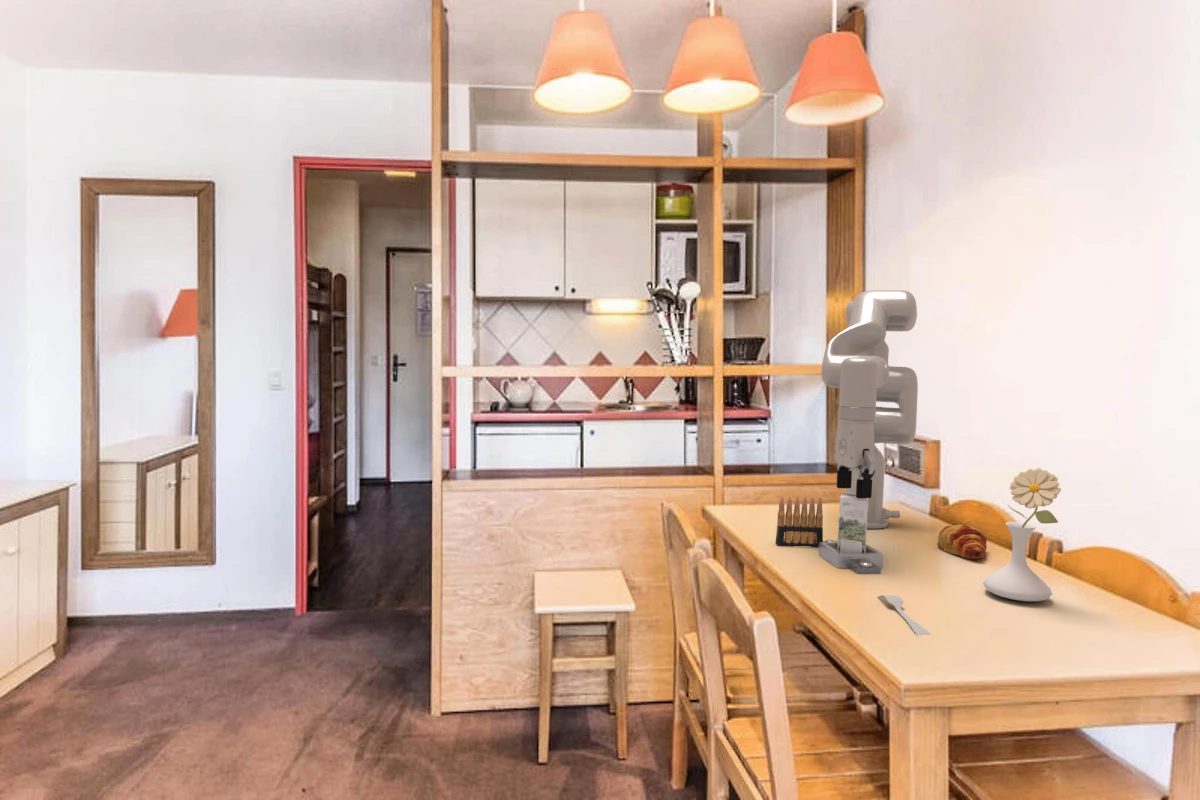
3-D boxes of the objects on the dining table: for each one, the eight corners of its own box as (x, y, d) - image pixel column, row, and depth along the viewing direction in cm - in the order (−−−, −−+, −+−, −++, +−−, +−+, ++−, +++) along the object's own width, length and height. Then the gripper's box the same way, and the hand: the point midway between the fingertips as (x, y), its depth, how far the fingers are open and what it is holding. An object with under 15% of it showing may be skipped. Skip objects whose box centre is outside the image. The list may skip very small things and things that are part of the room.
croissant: (933, 553, 185) (919, 524, 186) (971, 536, 184) (957, 507, 184) (966, 577, 164) (949, 544, 164) (1009, 557, 163) (993, 525, 163)
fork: (917, 654, 119) (918, 638, 119) (873, 597, 140) (875, 583, 139) (934, 654, 119) (936, 638, 119) (889, 598, 139) (890, 584, 139)
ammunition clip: (821, 547, 176) (823, 496, 176) (822, 549, 174) (825, 498, 174) (775, 545, 177) (777, 495, 176) (776, 547, 175) (778, 497, 174)
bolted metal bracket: (846, 546, 176) (846, 533, 176) (892, 573, 154) (892, 559, 154) (805, 546, 175) (805, 533, 175) (845, 573, 153) (846, 559, 153)
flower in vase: (968, 590, 144) (976, 462, 143) (1011, 585, 148) (1019, 460, 147) (1030, 613, 132) (1038, 472, 131) (1074, 606, 136) (1083, 470, 135)
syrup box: (865, 560, 164) (869, 494, 164) (864, 566, 159) (867, 498, 158) (838, 556, 166) (841, 492, 166) (836, 562, 161) (839, 496, 160)
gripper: (824, 410, 169) (821, 484, 171) (858, 419, 152) (854, 502, 154) (855, 410, 170) (852, 484, 172) (893, 419, 153) (889, 501, 154)
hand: (853, 492), depth 163 cm, fingers open, 9 cm apart
